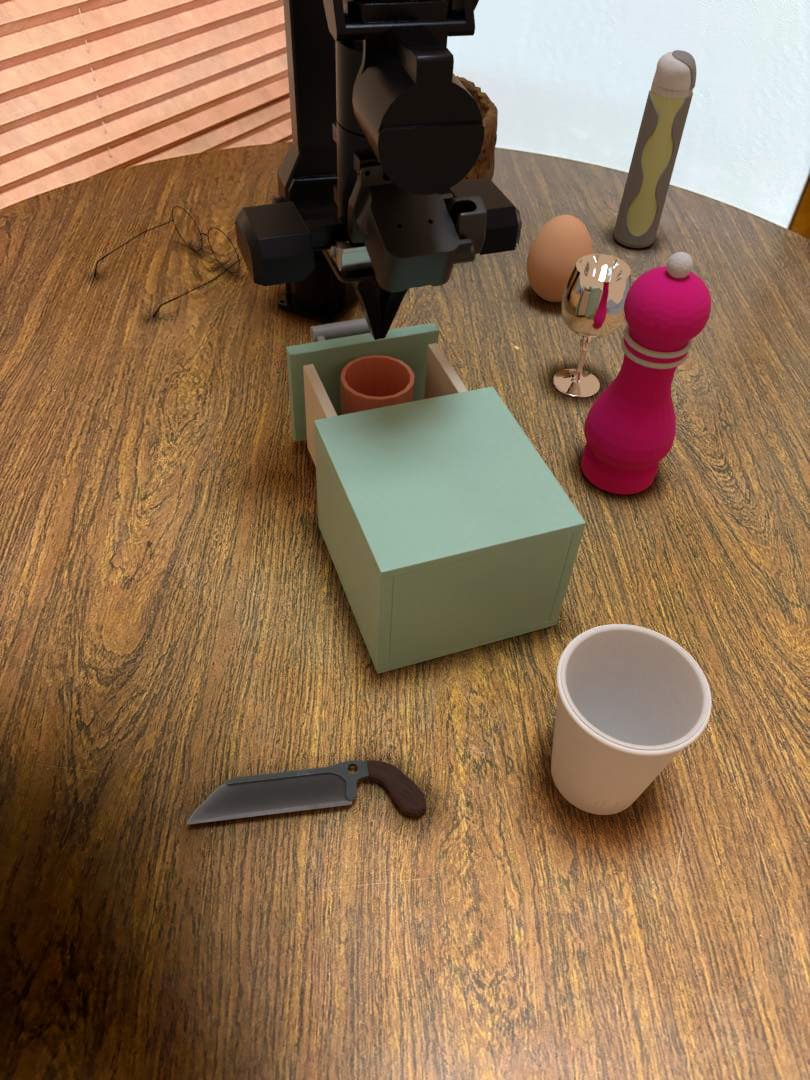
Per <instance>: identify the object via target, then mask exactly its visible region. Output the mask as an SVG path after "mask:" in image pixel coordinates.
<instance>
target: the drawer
mask: <svg viewBox="0 0 810 1080" xmlns="http://www.w3.org/2000/svg"><path fill="white" fill-rule="evenodd" d="M309 333H310V339H311V342H307V343H301V344H300V343H299V344H294V345H288V346H286V347H285V353H286V354H285V355H286V368H287V369H286V370H287V382H288V398H289V411H290V425H291V426H290V427H291V434H292V437H293V440H294V442H302V441H306V444H307V445H306V446H307V450H308V452H309V455H310V457H311V460H312V462H313V464H314V467H315V468H316V459H315V436H314V420H318V419H323V418H328V417H333V416H339V415H341V394H340V377H341V372H342V369H343V368H344V367H345V366H346V365H347V364H348V363H349V362H350V361H352V360H354V359H357V358H359V357H362V356H368V355H385V356H390V357H393V358H396V359H399V360H401V361H403V362H404V363H405V364H407V365H408V366H409V367H410V368H411V370H412V371H413V373H414V375H415V376H414V392H413V401H418V400H423V399H428V398H434V397H439V396H444V395H450V394H455V393H460V392H465V391H469V390H468V388H467V387H466V385H465V383H464V382H463V380H462V379H461V377H460V376H459V375H458V373H457V372H456V370H455V368H454V366H453V365H452V364H451V363H450V360H449V359H448V357H447V356H446V354H445V353H444V352H443V350H442V349H441V347H440V346H439V336H440V329H439V328H438V326H437V324H436V323H435V322H428V323H422V324H416V325H410V326H404V327H397V328H391V329H390V328H389V331H388V333H387V335H386V337H385V338H384V339H378V340H374V338H373V336H372V334H371V332H370V330H369V327H368V324H367V322H366V319H365V317H362V318H355V319H349V320H343V321H336V322H333V323H324V324H318V325H312V326H310V327H309Z"/></svg>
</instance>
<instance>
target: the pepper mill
mask: <svg viewBox="0 0 810 1080" xmlns="http://www.w3.org/2000/svg"><path fill="white" fill-rule="evenodd" d="M693 268H694V260H693V257H692V256H691V255H690V254H689V253H688V252H685V251H677V252H674V253H672V255H670V256H669V258H668V259H667V261H666V265H664V266H657V267H654V268H651V269H648V270H646V271H645V272H643V273H642V274H641V275H639V276H638V277H637V278H636V279H635V280H634V281H633V283H631V287H630V289H629V291H628V293H627V295H626V299H625V303H624V314H625V319H624V320H625V321H626V323H627V324H626V325H625V327H624V329H623V336H622V338H621V340H620V348H621V351H622V352H623V353H624V354H623V361H622V363H621V367H620V369H619V371H618V373H617V375H616V377H615V378H613V380H612V381H611V382H610V384H609V385H607V387H606V388H605V389H604V390H603V391H602V392H601V393H600V394H599V396H598V397H597V398H596V399H595V401H594V402H593V403H592V405H591V407H590V409H589V411H588V412H587V415H586V418H585V421H584V425H583V426H584V427H583V433H584V437H585V441H586V443H585V445H584V448H583V452H582V455H581V460H580V468H581V471H582V474H583V476H584V477H585V479H586V480H587V481H589V482H590V484H592V485H593V486H595V487H596V488H598V489H600V490H603V491H604V492H606V493H607V492H608V493H611V494H615V495H625V496H626V495H634V494H639V493H641V492H643V491H645V490H647V489H648V488H649V487H651V485H652V484H653V482H654V480H655V478H656V475H657V472H658V470H659V466H660V461H662V460H663V459H665V457H666V456H667V455H668V454H669V453H670V451H671V449H672V448H673V445H674V442H675V437H676V433H677V417H676V413H675V407H674V402H673V397H672V384H673V380H674V376H675V374H676V371H677V369H678V367H680V366H681V365H683V364H684V363H685V362H686V361H688V360H687V359H688V358H689V354H690V353H689V351H690V350H691V349H692V346H693V339H694V338H696V337H697V336H698V335H699V334H701V333H702V332H703V330H704V329H705V327H706V325H707V323H708V321H709V319H710V316H711V310H712V297H711V293H710V289H709V288H708V286H707V284H706V283H705V282H704V280H703V279H702V278H701V277H700V276H699V275H697V274H696V273H694V272H693Z"/></svg>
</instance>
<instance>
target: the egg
mask: <svg viewBox="0 0 810 1080" xmlns="http://www.w3.org/2000/svg"><path fill="white" fill-rule="evenodd" d="M589 254H594V248H593V242H592V239H591V235H590V233H589V230H588V228H587V226H586V225H585V223H584V222H583V221H582V220H581V219H580V218H578V217H576V216H574V215H573V214H572V215H571V214H559V215H557V216H555V217H552V218H551V219H549V220H548V221H547V222H546V223H544V224H543V226H542V227H541V228H540V229H539V231H538V232H537V233H536V235H535V236H534V238H533V240H532V241H531V244H530V246H529V249H528V254H527V259H526V274H527V279H528V281H529V285H530V286H531V288H532V289H533V291H534V292H535V293H536V295H537V296H538V297H540V298H542V299H543V300H544V301H546V302H550V303H562V297H563V292H564V289H565V286H566V283H567V281H568V278H569V276H570V274H571V272H572V270H573V268H574V266H575V264H576V262H577V260H578V259H579V258H581V257H583V256H585V255H589Z"/></svg>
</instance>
